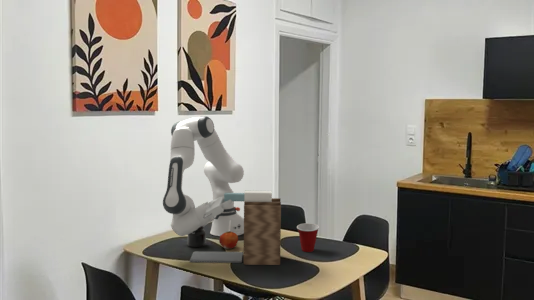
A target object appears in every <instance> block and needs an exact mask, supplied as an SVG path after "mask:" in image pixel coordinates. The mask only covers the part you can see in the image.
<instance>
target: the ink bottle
mask: <svg viewBox="0 0 534 300" xmlns="http://www.w3.org/2000/svg"><path fill="white" fill-rule="evenodd" d="M206 245H207V232H206V230H205V225H204V226H201V227H199V228H198V229H197V230H195V231H194V232H192V233H190V234H187V246H188V247H190V248H191V247H192V248H202V247H205V246H206Z"/></svg>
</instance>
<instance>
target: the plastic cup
mask: <svg viewBox="0 0 534 300" xmlns="http://www.w3.org/2000/svg"><path fill="white" fill-rule="evenodd" d="M296 229H297V231H298V235H299V243H300V247H301V251H302V252H304V253H305V252H306V253H312V252H314V250H315V245H316V243H317V236H318V231H319V229H320V226H319V224H317V223H316V224H315V223H311V222H310V223H309V222H308V223H300V224H298V225H297V226H296Z"/></svg>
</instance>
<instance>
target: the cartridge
mask: <svg viewBox="0 0 534 300" xmlns="http://www.w3.org/2000/svg"><path fill="white" fill-rule="evenodd" d="M272 193H273V192H272V190H244V192H233V193H225V194H224V201H227V200H229V199H231V200H232V201H234V202H272V198H273V196H272V195H273V194H272Z"/></svg>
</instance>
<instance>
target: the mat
mask: <svg viewBox="0 0 534 300" xmlns="http://www.w3.org/2000/svg"><path fill="white" fill-rule="evenodd" d="M243 258H244V251H197V250H196V251H193V252H192V254H191V257H190V259H189V263H221V264H222V263H228V264H229V263H231V264H232V263H237V264H240V263H241V264H242V262H243Z"/></svg>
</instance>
